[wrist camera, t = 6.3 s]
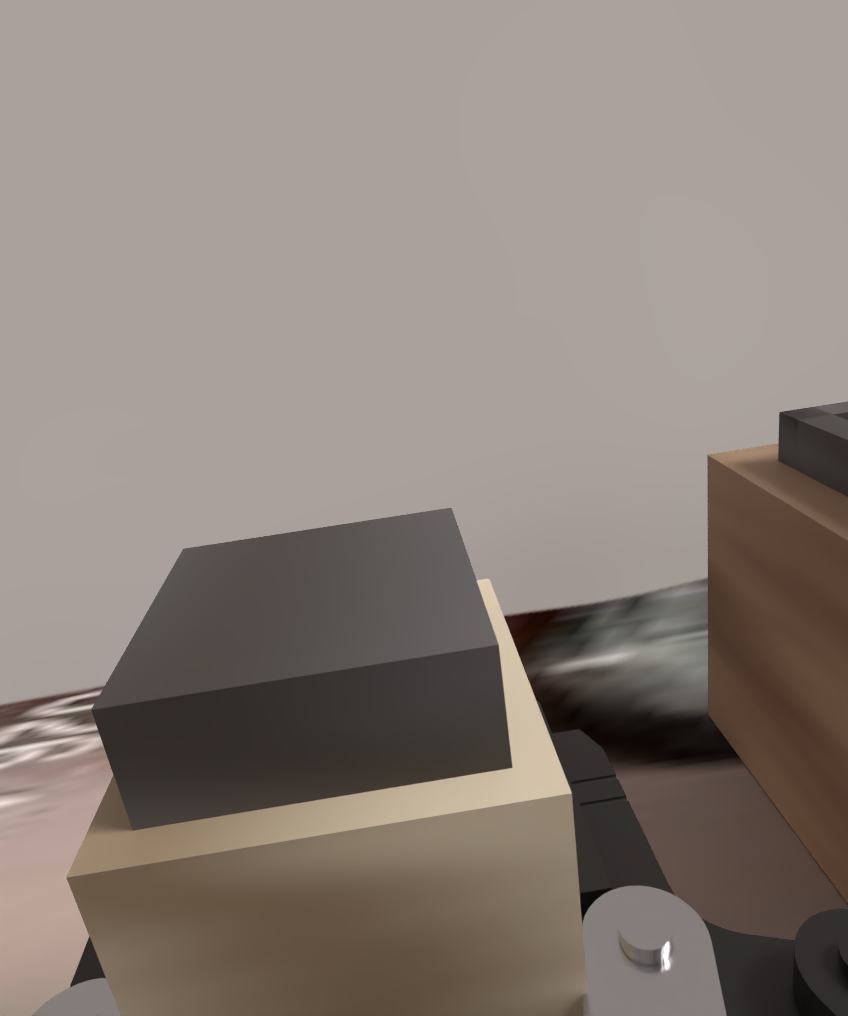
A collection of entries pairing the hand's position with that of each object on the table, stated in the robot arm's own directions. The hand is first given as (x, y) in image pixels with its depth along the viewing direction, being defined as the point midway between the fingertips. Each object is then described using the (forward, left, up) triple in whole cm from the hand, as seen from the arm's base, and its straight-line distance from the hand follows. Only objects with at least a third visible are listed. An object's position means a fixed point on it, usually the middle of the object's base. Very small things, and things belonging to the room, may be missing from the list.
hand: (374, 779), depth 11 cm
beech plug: (0, +3, -7) cm, 7 cm away
